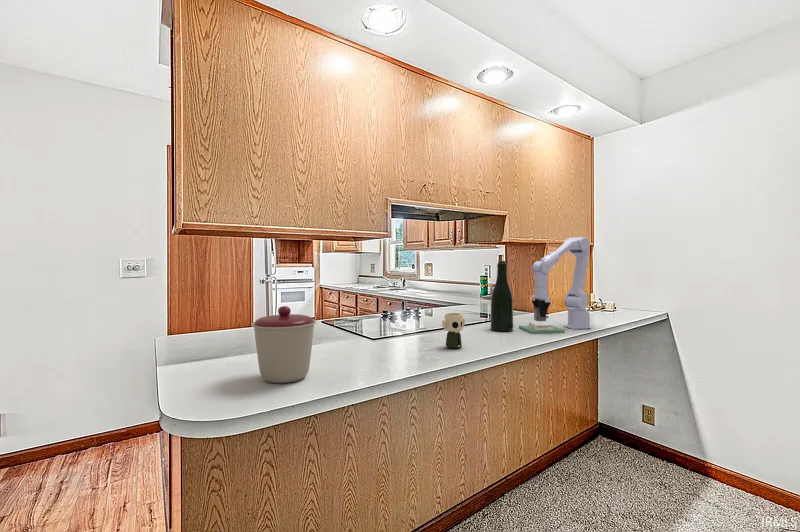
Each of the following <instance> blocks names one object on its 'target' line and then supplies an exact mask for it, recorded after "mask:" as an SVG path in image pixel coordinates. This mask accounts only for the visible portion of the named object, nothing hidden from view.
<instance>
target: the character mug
mask: <svg viewBox="0 0 800 532" xmlns="http://www.w3.org/2000/svg"><path fill="white" fill-rule="evenodd" d="M465 320H466V319H465V317H464V315H463V313H459V312H447V313H444V319H443V320H442V322H441V326H442V329H444V330H445V331H446V332H447V333H446V339H445V346H446V347H448V348H450V349H456V348H457V349H458V348H462V347H463V345H462V343H463V342H462V336H461V333H460V332H461V331H463V330H464V326H465V325H466V324H465V323H466V321H465Z"/></svg>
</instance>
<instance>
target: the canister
mask: <svg viewBox="0 0 800 532" xmlns="http://www.w3.org/2000/svg"><path fill="white" fill-rule="evenodd" d="M291 311H292V310H291V308H290V307H289V306H286V305H284V306H280V307H279V308H278V309H277V314H272V315H267V316H262V317H260V318H257V319H256V320H255V321H253V322H252V323H251V327H253V329H254V330H253V332H254V339H255V346H256V354H257V361H258V369H259V373H260V375H261V378H262V379H263V380H264V381H265V382H268V383H273V384H286V383H293V382H297V381H300V380H302V379H304V378H305V377H306V376H307V375H308V373H309V370H310V365H311V357H312V347H313V339H314V329H315V328H314V327H315V325H316V323H317V320H316V319H313V318H312V317H311V316H308V315H305V314H294V313H293V314H292V313H291Z"/></svg>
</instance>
